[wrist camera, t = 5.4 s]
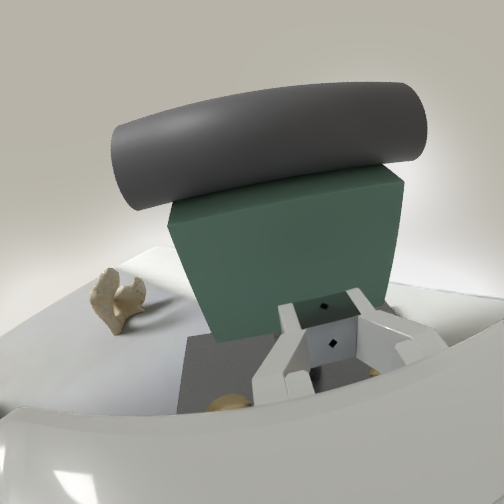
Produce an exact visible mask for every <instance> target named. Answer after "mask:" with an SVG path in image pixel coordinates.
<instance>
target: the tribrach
mask: <svg viewBox="0 0 504 504" xmlns="http://www.w3.org/2000/svg"><path fill="white" fill-rule="evenodd" d="M374 309H375V310H376V311H377V310H382V311H385V312H387V313H390V314H393V315H396V314H395V312H394V311H393V310H392V309H391V308H390V306H389V305H388V304H387V303H386V301H385V300H384V303H383V305H382V306H379V307H375V308H374ZM396 316H397V315H396ZM278 338H279V337H277V332H275V333H270V334H265V335H260V336H255V337H250V338H244V339H239V340H233V341H227V342H222V343H216V341H215V339H214V337H213V335H212V333H210V334H203V335H197V336H191V337H188V338H187V345H186V351H185V357H184V364H183V371H182V378H181V385H180V392H179V399H178V407H177V415H179V414H193V413H204V412H214V411H223V410H231V409H238V408H245V407H252V406H254V399H253V388H252V378H253V376H254V375H255V373H256V372H257V371H258V369H259V368H260V366H261V365H262V363H263V361H264V360H265V358H266V357H267V355H268V354H269V352H270V351H271V349H272V348H273V346H274V345H275V343H276V341H277V340H278ZM378 375H381V373H380V372H378V371H377V370H375V369H374V368H372V367H370V366H369V365H367V364H366V363H364V362H363V361H361V360H359V359H358V358H356V356H355V357H352V358H348V359H344V360H340V361H336V362H332V363H328V364H325V365H321V366H317V367H314V368H310V372H309V376H310V379H311V382H312V385H313V388H314V392H315V394H316V393H320V392H324V391H328V390H332V389H335V388H339V387H343V386H346V385H349V384H353V383H356V382H359V381H363V380H366V379H369V378H372V377H375V376H378Z"/></svg>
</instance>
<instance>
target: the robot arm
mask: <svg viewBox="0 0 504 504" xmlns="http://www.w3.org/2000/svg"><path fill="white" fill-rule="evenodd" d="M278 312H279V318H280V324H281V330H282V334H281V335H280V337H279V338H278V340H277V341H276V343H275V345H274V346H273V348H272V349H271V351H270V352H269V354H268V355H267V357H266V358H265V360H264V361H263V363H262V365H261V366H260V368H259V369H258V371H257V372H256V373H255V375H254V376H253V378H252V388H253V399H254V406H252V407H245V408H238V409H231V410H223V411H214V412H204V413H193V414H179V415H158V416H112V415H91V414H78V413H67V412H58V411H50V410H43V409H37V408H31V407H19V408H17V409H16V410H14V411H12V412H10V413H9V414H7V415H6V416H5V417H3V418H2V419H0V504H504V319H503V320H501V321H499V322H497V323H496V324H494V325H492V326H490V327H489V328H487V329H485V330H483V331H481V332H479V333H477V334H476V335H474V336H472V337H470V338H468V339H466V340H464V341H462V342H460V343H457V344H455V345H453V346H451V347H449V346H448V345H447V344H446V343H445V341H444V340H443V339H442V338H441V337H440V335H439V334H438V333H437V332H436V331H435V330H434V329H433V328H430V327H427V326H424V325H421V324H419V323H416V322H413V321H410V320H407V319H404V318H402V317H399V316H396V315H393V314H390V313H387V312H385V311H382V310H377V311H376V310H375V309H374V307H373V306H372V305H371V303H370V302H369V301H368V299H367V298H366V297H365V295H364V294H363V293H362V292H361V290H360V289H359V288H353V289H350V290H346V291H343V292H340V293H336V294H332V295H328V296H324V297H320V298H319V297H318V298H313V299H309V300H304V301H299V302H293V303H288V304H284V305H279V306H278ZM355 356H356V358H358V359H359V360H361V361H363V362H364V363H366V364H367V365H369V366H370V367H372V368H374V369H375V370H377V371H378V372H380V373H381V375H378V376H375V377H372V378H369V379H366V380H363V381H359V382H356V383H353V384H349V385H346V386H343V387H339V388H335V389H332V390H328V391H324V392H320V393H316V394H315V392H314V388H313V385H312V382H311V379H310V376H309V372H310V368H314V367H317V366H321V365H325V364H328V363H332V362H336V361H340V360H344V359H348V358H352V357H355Z"/></svg>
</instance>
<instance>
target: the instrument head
mask: <svg viewBox="0 0 504 504" xmlns="http://www.w3.org/2000/svg"><path fill="white" fill-rule="evenodd" d="M426 140H427V119H426V114H425V110H424V108H423V105H422V103H421V101H420V99H419V97H418V96H417V94H416V93H415V91H414V90H413V89H412V88H411V87H409V86H408V85H406V84H404V83H396V82H341V83H321V84H309V85H297V86H288V87H280V88H272V89H265V90H258V91H252V92H246V93H241V94H235V95H229V96H224V97H220V98H215V99H210V100H206V101H201V102H197V103H193V104H189V105H185V106H181V107H177V108H174V109H170V110H166V111H163V112H160V113H156V114H153V115H150V116H146V117H143V118H140V119H137V120H134V121H131V122H128V123H125V124H122V125H120V126H118V127H116V128H115V130H114V132H113V135H112V140H111V158H112V166H113V170H114V174H115V178H116V181H117V184H118V187H119V189H120V191H121V193H122V195H123V197H124V199H125V200H126V202H127V203H128V204H129V206H131V207H132V208H133V209H134V210H137V211H139V210H143V209H147V208H151V207H154V206H158V205H162V204H166V203H170V202H173V204H172V208H171V212H170V216H169V221H168V225H167V227H168V229H169V232H170V235H171V238H172V240H173V243H174V245H175V248H176V250H177V253H178V255H179V258H180V260H181V263H182V265H183V268H184V270H185V273H186V275H187V277H188V280H189V282H190V285H191V287H192V289H193V292H194V294H195V296H196V299H197V301H198V303H199V306H200V308H201V310H202V312H203V315H204V317H205V319H206V321H207V324H208V326H209V328H210V330H211V332H212V335H213V337H214V339H215V341H216V343H222V342H227V341H233V340H239V339H244V338H250V337H255V336H260V335H265V334H270V333H275V332H277V337H280V335H281V334H282V330H281V324H280V318H279V312H278V306H279V305H284V304H288V303H293V302H299V301H304V300H309V299H313V298H318V297H319V298H320V297H324V296H328V295H332V294H336V293H340V292H343V291H346V290H350V289H353V288H359V289H360V290H361V292H362V293H363V294H364V295H365V297H366V298H367V299H368V301H369V302H370V303H371V305H372V306H373V307H374V308H375V307H379V306H382V305H383V303H384V299H385V295H386V291H387V287H388V282H389V278H390V273H391V268H392V263H393V258H394V252H395V247H396V241H397V236H398V229H399V223H400V216H401V208H402V200H403V192H404V181H403V180H402V179H401V178H399V177H398V176H397V175H396V174H394V173H393V172H392V171H391V170H389V169H388V168H387V167H386V166H384V165H383V164H385V163H394V162H404V161H413V160H415V159H417V158H418V157H419V156H420V155H421V154H422V152H423V150H424V147H425V145H426Z"/></svg>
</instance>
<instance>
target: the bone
mask: <svg viewBox="0 0 504 504" xmlns="http://www.w3.org/2000/svg"><path fill="white" fill-rule="evenodd" d="M145 296H146V288H145V285H144V282H143V281H142V279H140V278H138V277H134V279H133V282H132V284H131V285H130V286H125V285H123V286H121V287H120V286H119V273H118V272H117V271H116V270H114V269H113V268H108V269H106V270H105V271H104V273H102V274H101V275H100V276H99V278H98V280H97V282H96V284H95V286H94V287H93V288H92V291H91V293H90V296H89V301H90V303H91V305H92V308H93V309H94V311H95V313H96V314H97V315H98V316H99V317H100V318H101V319H102V320H103V321H104V322H105V323H106V324H107V325H108V327H109V328H110V329H111V331H112V333H113V335H118V334H119V333H121V331H122V328H123V325H124V323H125V320H126V319H127V318H128V317H129V316H131V315H133V314H136V313H139V312H143V311H145V310H146V309H143V308H142V307H141V305H142V303H144V300H145Z"/></svg>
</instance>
